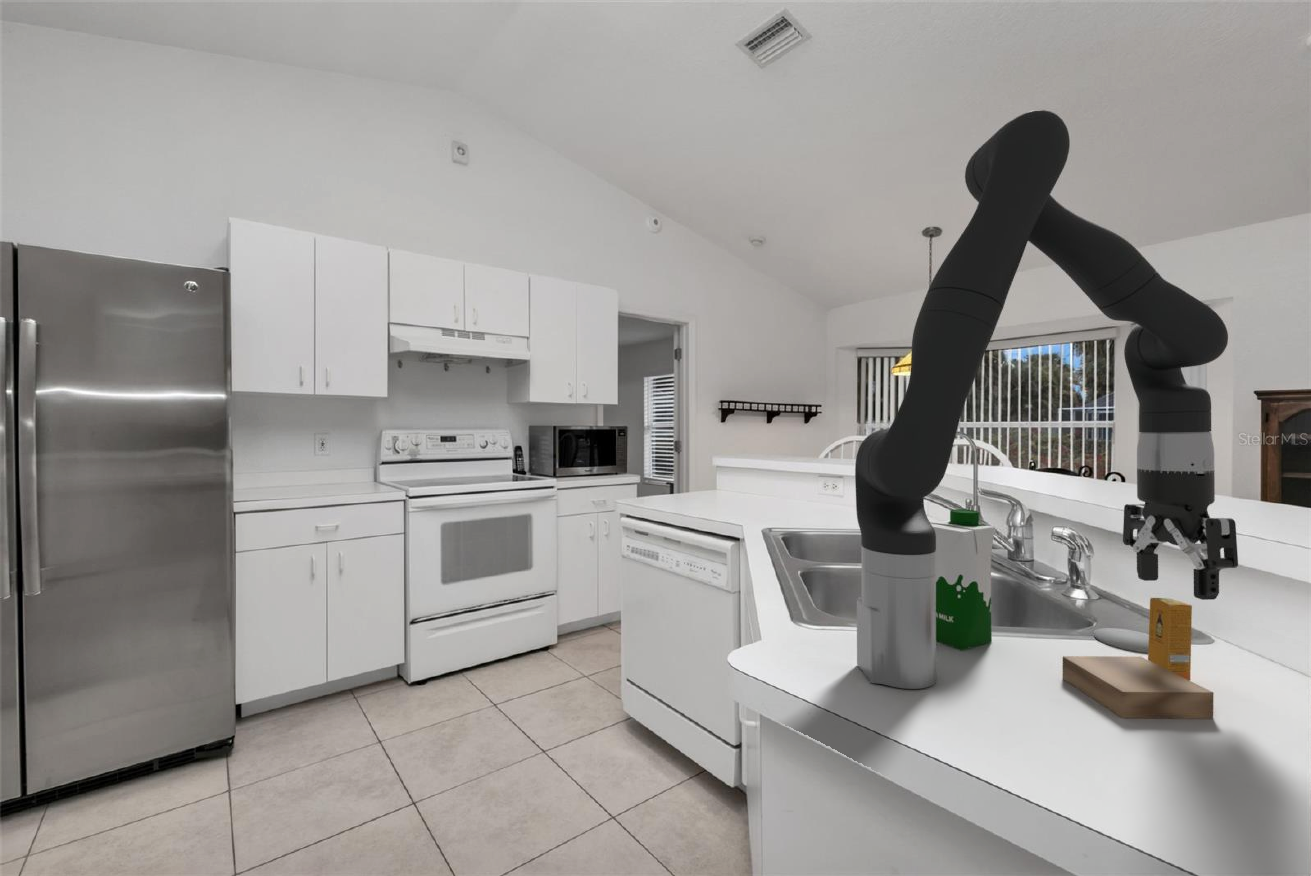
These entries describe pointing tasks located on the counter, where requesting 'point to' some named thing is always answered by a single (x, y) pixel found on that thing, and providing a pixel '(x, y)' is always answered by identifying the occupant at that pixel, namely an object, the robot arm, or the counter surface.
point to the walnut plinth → (1137, 687)
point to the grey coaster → (1124, 639)
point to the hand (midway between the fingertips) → (1175, 588)
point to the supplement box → (1170, 635)
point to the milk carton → (963, 580)
